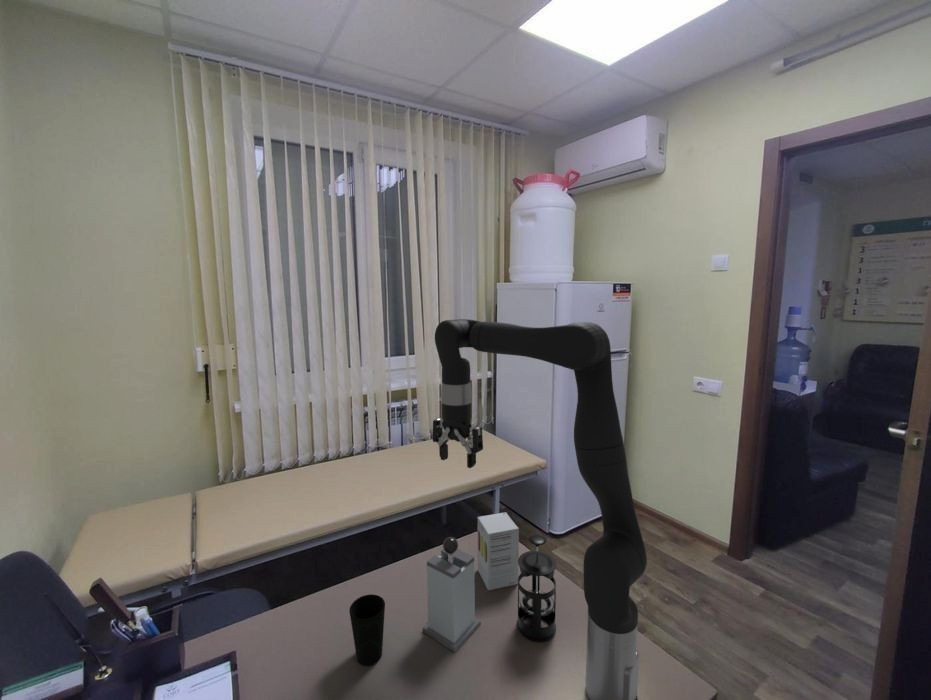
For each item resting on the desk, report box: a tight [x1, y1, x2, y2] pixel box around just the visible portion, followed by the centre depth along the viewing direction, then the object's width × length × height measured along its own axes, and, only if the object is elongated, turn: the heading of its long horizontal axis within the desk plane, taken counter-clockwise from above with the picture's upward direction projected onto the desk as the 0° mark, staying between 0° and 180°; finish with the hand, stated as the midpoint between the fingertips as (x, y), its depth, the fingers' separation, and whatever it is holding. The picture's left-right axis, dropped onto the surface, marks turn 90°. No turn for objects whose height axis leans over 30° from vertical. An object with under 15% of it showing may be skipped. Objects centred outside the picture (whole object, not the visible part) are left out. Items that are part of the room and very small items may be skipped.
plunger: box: [442, 536, 459, 564], centre depth 98 cm, size 6×6×17 cm
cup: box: [349, 593, 386, 667], centre depth 91 cm, size 8×8×12 cm
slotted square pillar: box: [422, 548, 482, 653], centre depth 98 cm, size 10×10×18 cm
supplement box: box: [477, 511, 520, 591], centre depth 116 cm, size 10×9×17 cm
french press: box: [516, 534, 557, 643], centre depth 99 cm, size 12×9×23 cm
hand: (457, 463), depth 103 cm, fingers open, 8 cm apart
